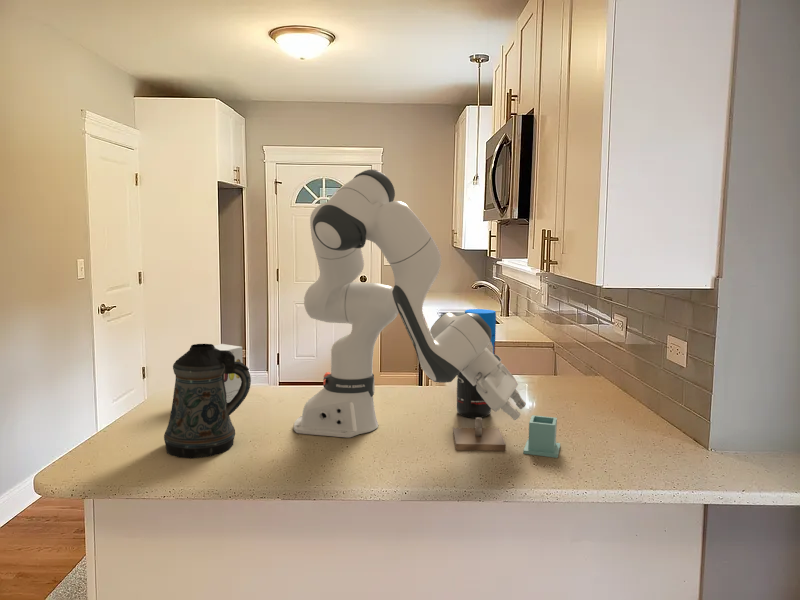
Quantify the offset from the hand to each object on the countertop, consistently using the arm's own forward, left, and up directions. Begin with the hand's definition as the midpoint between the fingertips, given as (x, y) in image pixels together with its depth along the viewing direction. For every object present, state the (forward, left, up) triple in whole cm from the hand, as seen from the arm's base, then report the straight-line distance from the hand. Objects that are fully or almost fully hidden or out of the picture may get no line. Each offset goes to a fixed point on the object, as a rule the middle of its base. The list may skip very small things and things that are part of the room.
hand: (520, 412), depth 148 cm
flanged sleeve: (+5, -1, -9) cm, 11 cm away
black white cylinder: (-9, +27, -9) cm, 30 cm away
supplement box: (-85, +35, -9) cm, 92 cm away
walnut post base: (-10, +4, -9) cm, 14 cm away
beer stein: (-77, -2, -9) cm, 77 cm away
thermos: (-4, +63, -9) cm, 64 cm away
